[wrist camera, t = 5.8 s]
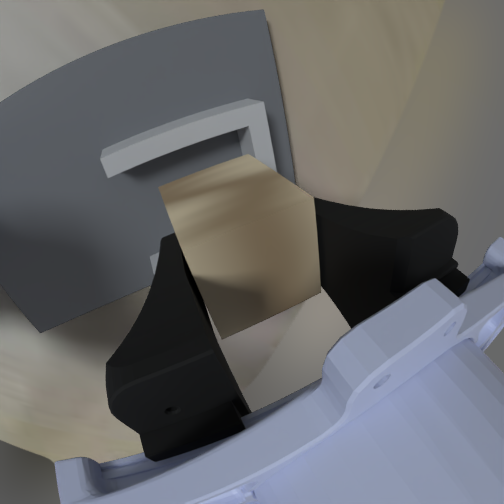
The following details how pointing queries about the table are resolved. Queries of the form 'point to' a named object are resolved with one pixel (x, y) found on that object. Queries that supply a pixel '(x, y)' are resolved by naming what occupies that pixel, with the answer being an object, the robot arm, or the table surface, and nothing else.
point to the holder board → (126, 156)
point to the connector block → (245, 240)
